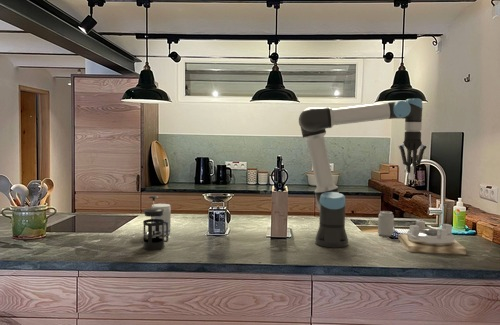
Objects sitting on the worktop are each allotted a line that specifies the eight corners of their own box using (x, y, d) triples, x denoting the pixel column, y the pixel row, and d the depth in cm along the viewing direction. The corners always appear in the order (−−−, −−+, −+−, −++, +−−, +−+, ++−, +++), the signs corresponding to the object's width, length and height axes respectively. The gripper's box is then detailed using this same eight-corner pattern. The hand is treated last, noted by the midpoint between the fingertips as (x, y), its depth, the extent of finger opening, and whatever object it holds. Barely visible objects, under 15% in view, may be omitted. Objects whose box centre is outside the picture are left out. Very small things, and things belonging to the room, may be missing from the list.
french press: (138, 249, 186) (137, 197, 185) (146, 244, 196) (146, 194, 194) (163, 251, 185) (163, 198, 183) (171, 245, 194) (171, 195, 192)
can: (394, 237, 214) (394, 213, 213) (378, 236, 215) (379, 212, 214) (392, 233, 221) (393, 210, 220) (377, 232, 223) (377, 210, 222)
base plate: (408, 251, 189) (408, 245, 189) (398, 238, 211) (398, 233, 210) (465, 254, 186) (466, 248, 185) (449, 241, 207) (450, 235, 207)
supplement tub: (152, 237, 208) (152, 207, 207) (149, 232, 217) (149, 204, 216) (172, 235, 212) (172, 206, 211) (168, 231, 221) (168, 202, 220)
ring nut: (442, 248, 184) (442, 232, 183) (399, 239, 199) (399, 224, 198) (461, 241, 197) (462, 226, 197) (419, 232, 212) (420, 218, 211)
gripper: (424, 131, 210) (421, 179, 212) (397, 130, 211) (395, 178, 213) (429, 131, 203) (427, 180, 205) (401, 130, 204) (399, 180, 205)
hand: (410, 179), depth 209 cm, fingers closed
